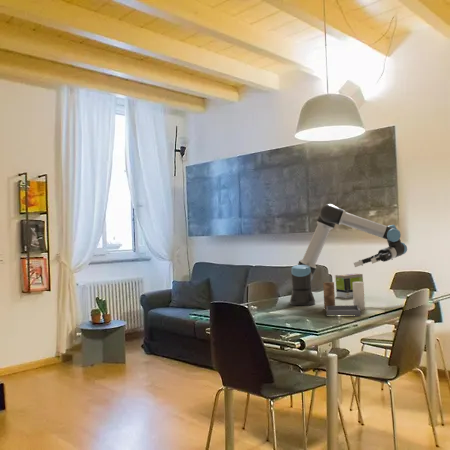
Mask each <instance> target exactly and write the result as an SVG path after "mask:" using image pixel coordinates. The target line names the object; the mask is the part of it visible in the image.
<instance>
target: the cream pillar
mask: <svg viewBox="0 0 450 450" xmlns="http://www.w3.org/2000/svg"><path fill="white" fill-rule="evenodd" d="M352 283H353V297H352V300H353V302H352V304H353V305H358V307H359V309H360V311H363V310H364V309H365V310H366V303H365V301H366V300H365V285H364V284H365V282H364V281H363V282H352Z"/></svg>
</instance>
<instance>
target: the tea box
mask: <svg viewBox="0 0 450 450" xmlns="http://www.w3.org/2000/svg"><path fill="white" fill-rule="evenodd" d="M334 276H335V277H334V278H335V293H336V297H337V298H342V299H349V298H353V283H352V282H364V277H363V273H343V274H335V275H334Z"/></svg>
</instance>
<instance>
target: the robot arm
mask: <svg viewBox="0 0 450 450" xmlns="http://www.w3.org/2000/svg"><path fill="white" fill-rule="evenodd" d="M316 224H317V226H316V228H315V230H314V233H313V235H312V237H311V239H310V242H309V244H308V246H307V248H306V251H305V253H304V256H303V258H301V259H300V260H299V261H298V263H297V265H293V266H291V270H290V272H291V273H290V274H291V290H292V292H291V294H290V295H291V296H290V299H289V305H290V304H291V306H296V305H306V306H312V305H315V304H316V299H315V297H314V294H313V292H312V280H313V279H314V275H315V273H316V270H317V266H316V263H317V262H318V260H319V257H320V255H321V253H322V251H323V248H324V245H325V243H326V241H327V239H328V236H329V234H330V232H331V230H334V229H335V227H336V225H338V226H340V225H343V226H346V227H349V228H351V229H356V230H359V231H361V232H364V233H367V234H370V235H372V236H375V237H378V238H381V239H385V240H386V242H387V245H388V246H386V247H384V248H381V249H379V250H378V252H377V253H376V254H373V255H371V256H369V257H366V258H363V259H359V260H358V261H355V262H353V265H354V268H357V267H360V266H364V264H365V265H366V264H368V263H371V264H375V263H378V262H383V263H384V262H388V261H390V260H391V261H392V260H393V259H395V258H397V257H401V256H403V255H406V253H407V252H408V247H407V244H405V242H403V241H401V239H400V238H401V232H400V230H399V229H398V228H397V227H396V225H395V224H391V225H390V224H389V225H384V224H382V223H379V222H376V221H373V220H370V219H367V218H364V217H361V216H358V215H355V214H353V213H349V212H347V211H346V210H345V209H343V208H341V207H338V206H336V205H335V204H333V203H326V204H324V205H323V206H322V207H320V210H319V215H318V217H317V219H316Z"/></svg>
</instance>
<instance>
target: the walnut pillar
mask: <svg viewBox="0 0 450 450" xmlns="http://www.w3.org/2000/svg"><path fill="white" fill-rule="evenodd" d="M322 287H323V288H322V289H323V304H324V305H323V307H324V308H325V309H326V306H336V298H335V297H336V296H335V295H336V294H335V293H336V291H335V281H324V282H323V283H322ZM325 309H324V310H325Z"/></svg>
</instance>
